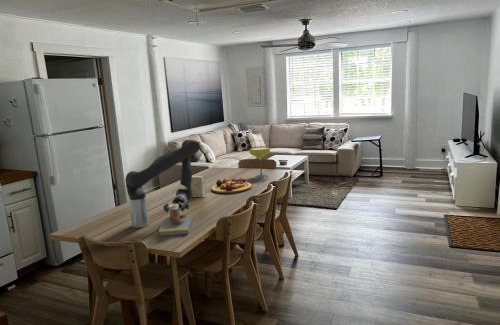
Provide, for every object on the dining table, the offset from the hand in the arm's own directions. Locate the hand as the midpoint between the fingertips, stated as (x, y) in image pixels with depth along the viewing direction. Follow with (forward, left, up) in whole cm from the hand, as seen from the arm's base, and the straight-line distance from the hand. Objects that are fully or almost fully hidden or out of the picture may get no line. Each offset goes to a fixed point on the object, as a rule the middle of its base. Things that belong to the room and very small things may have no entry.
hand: (174, 210), depth 214 cm
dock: (0, 0, -12) cm, 12 cm away
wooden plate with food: (+28, +85, -13) cm, 90 cm away
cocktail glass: (+53, +121, -12) cm, 132 cm away
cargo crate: (0, 0, -8) cm, 8 cm away
